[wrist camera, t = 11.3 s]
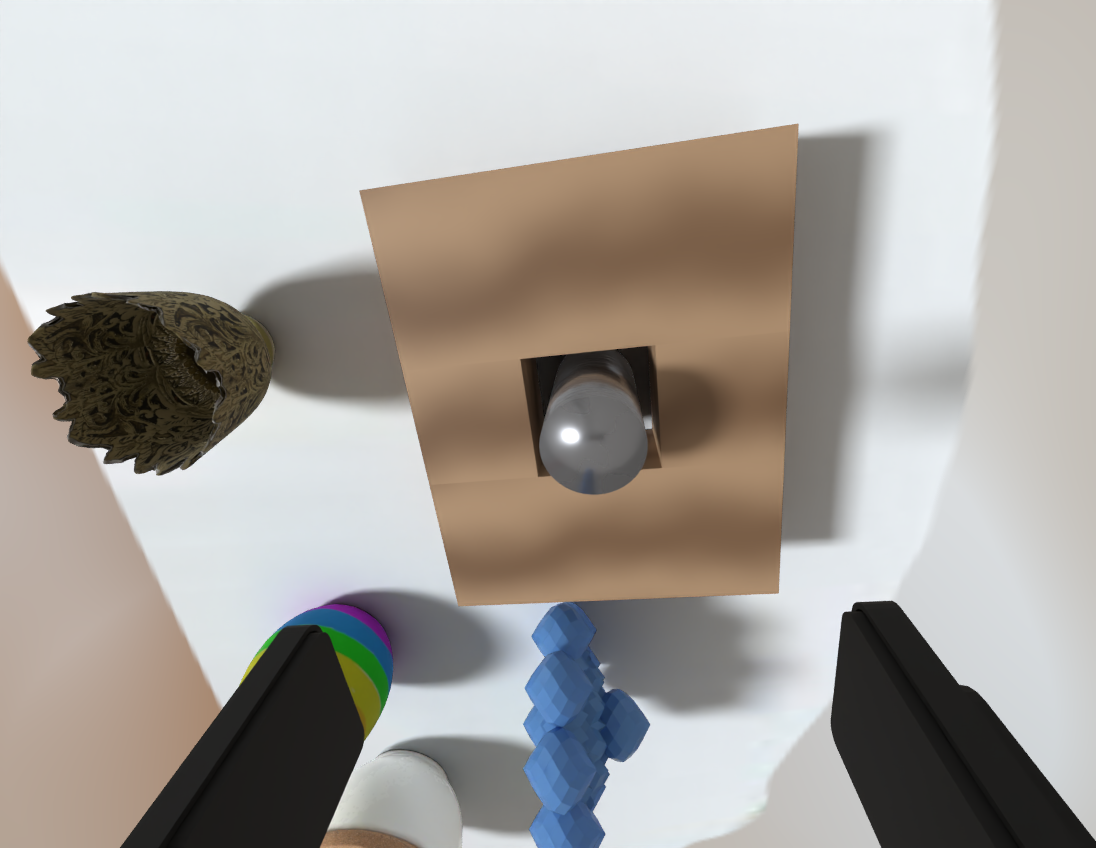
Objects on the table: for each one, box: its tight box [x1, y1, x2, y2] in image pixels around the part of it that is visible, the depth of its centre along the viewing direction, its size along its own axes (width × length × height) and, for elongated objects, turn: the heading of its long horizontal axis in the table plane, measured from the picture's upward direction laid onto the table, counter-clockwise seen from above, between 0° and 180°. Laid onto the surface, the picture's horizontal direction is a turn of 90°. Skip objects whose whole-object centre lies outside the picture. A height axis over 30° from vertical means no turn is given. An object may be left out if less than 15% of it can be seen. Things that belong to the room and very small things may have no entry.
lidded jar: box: [320, 750, 463, 848], centre depth 35 cm, size 11×11×9 cm
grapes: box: [523, 602, 650, 848], centre depth 28 cm, size 12×7×12 cm, turn 6°
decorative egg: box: [239, 604, 393, 741], centre depth 30 cm, size 8×8×10 cm
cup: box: [28, 291, 275, 476], centre depth 24 cm, size 8×7×8 cm
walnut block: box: [360, 124, 798, 606], centre depth 25 cm, size 20×16×4 cm
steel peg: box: [539, 349, 648, 495], centre depth 23 cm, size 4×4×8 cm
